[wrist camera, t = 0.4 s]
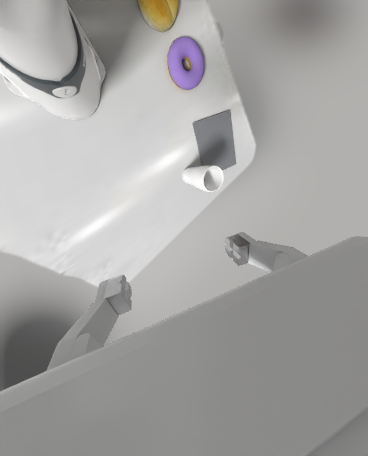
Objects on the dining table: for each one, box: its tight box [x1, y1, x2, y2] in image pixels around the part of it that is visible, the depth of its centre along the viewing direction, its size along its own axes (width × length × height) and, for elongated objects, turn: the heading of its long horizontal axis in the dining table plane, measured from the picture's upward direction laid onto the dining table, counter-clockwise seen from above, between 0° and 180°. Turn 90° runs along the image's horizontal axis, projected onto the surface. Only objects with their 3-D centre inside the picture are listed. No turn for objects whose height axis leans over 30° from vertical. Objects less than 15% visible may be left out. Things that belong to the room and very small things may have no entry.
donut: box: [168, 36, 204, 90], centre depth 36 cm, size 10×9×5 cm
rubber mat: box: [193, 110, 236, 170], centre depth 49 cm, size 17×14×1 cm
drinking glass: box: [183, 165, 224, 192], centre depth 43 cm, size 7×7×15 cm
